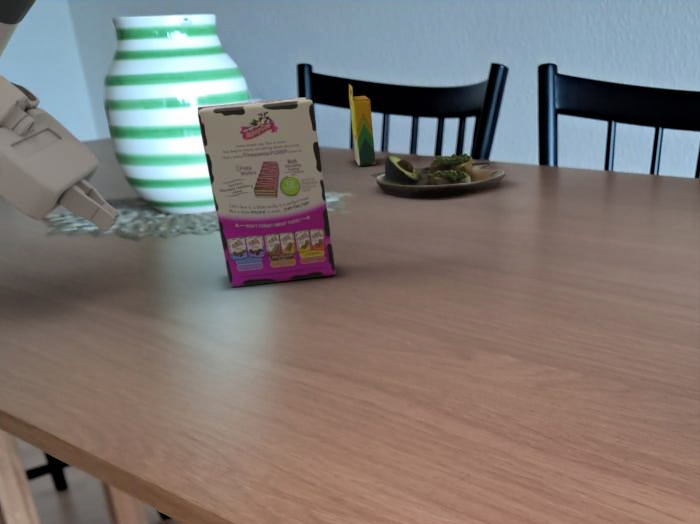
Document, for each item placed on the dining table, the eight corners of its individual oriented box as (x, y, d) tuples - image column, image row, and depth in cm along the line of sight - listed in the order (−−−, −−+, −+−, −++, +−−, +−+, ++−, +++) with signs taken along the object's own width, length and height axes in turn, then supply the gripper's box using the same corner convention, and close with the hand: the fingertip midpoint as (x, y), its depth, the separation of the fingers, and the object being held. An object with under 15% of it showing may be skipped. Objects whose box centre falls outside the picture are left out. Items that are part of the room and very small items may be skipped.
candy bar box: (330, 265, 110) (309, 95, 101) (336, 276, 106) (315, 100, 97) (226, 277, 108) (195, 104, 99) (228, 288, 104) (196, 109, 95)
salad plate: (453, 171, 159) (451, 138, 157) (535, 180, 148) (534, 146, 146) (356, 190, 148) (352, 156, 146) (437, 202, 137) (434, 165, 135)
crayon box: (376, 165, 168) (369, 85, 161) (358, 166, 167) (350, 87, 161) (372, 159, 174) (364, 82, 167) (354, 160, 173) (347, 83, 167)
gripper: (-34, 105, 87) (109, 218, 93) (30, 85, 104) (148, 182, 110) (-70, 165, 89) (73, 272, 95) (-1, 136, 106) (116, 228, 112)
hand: (113, 223), depth 103 cm, fingers closed
